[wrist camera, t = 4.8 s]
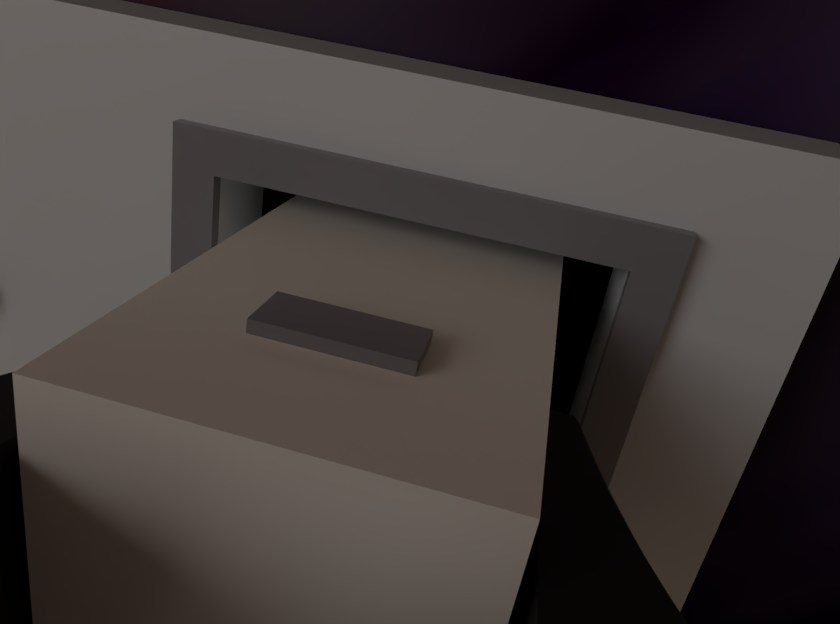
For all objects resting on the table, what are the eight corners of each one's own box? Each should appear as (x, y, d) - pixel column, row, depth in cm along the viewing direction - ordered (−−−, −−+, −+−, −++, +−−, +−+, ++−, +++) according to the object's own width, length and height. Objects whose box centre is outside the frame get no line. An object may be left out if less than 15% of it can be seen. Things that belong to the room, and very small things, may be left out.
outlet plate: (604, 701, 14) (606, 787, 12) (-109, 482, 16) (-183, 533, 14) (837, 142, 9) (886, 170, 8) (-217, -67, 11) (-343, -78, 10)
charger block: (503, 474, 12) (435, 860, 6) (279, 413, 12) (41, 723, 7) (566, 242, 10) (545, 502, 5) (302, 182, 11) (10, 355, 5)
